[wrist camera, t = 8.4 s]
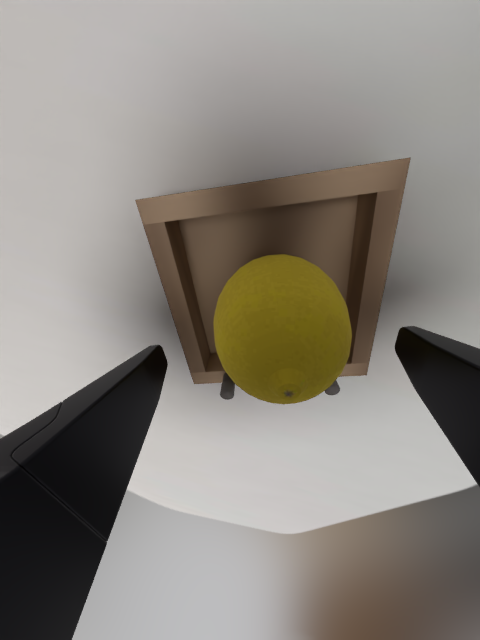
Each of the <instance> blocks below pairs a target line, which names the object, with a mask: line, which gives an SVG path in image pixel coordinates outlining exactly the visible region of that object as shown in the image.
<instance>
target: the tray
mask: <svg viewBox="0 0 480 640" xmlns="http://www.w3.org/2000/svg"><path fill="white" fill-rule="evenodd" d="M409 163H410V158H405V159H398V160H392V161H385V162H379V163H372V164H366V165H359V166H353V167H346V168H340V169H333V170H327V171H320V172H314V173H307V174H301V175H294V176H288V177H281V178H275V179H268V180H262V181H255V182H249V183H242V184H236V185H229V186H223V187H216V188H210V189H204V190H197V191H191V192H184V193H178V194H171V195H165V196H158V197H152V198H145V199H139V200H135V201H136V204H137V207H138V210H139V213H140V216H141V219H142V223H143V226H144V229H145V232H146V235H147V238H148V241H149V244H150V248H151V251H152V254H153V257H154V260H155V263H156V266H157V270H158V273H159V276H160V279H161V282H162V285H163V288H164V291H165V295H166V298H167V301H168V304H169V307H170V310H171V313H172V317H173V320H174V323H175V326H176V329H177V332H178V335H179V338H180V342H181V345H182V348H183V351H184V354H185V357H186V360H187V364H188V367H189V370H190V373H191V376H192V379H193V382H194V384H204V383H222V387H221V392H220V396H221V397H222V398H223V399H232V398H233V396H234V388H235V383H234V382H233V381H232V379H231V378H230V377H229V375H228V374H227V373H226V371H225V370H224V368H223V366H222V364H221V361H220V359H219V356H218V354H217V350H216V346H215V338H214V323H213V322H214V315H215V310H216V306H217V301H218V298H219V295H220V294H221V292H222V290H223V288H224V286H225V285H226V283H227V281H228V280H229V279H230V278H231V277H232V276H233V275H234V274H235V273H236V272H237V270H238V269H239V268H241V267H242V266H244V265H245V264H247V263H249V262H250V261H252V260H254V259H257V258H261V257H264V256H267V255H279V254H286V255H291V256H296V257H300V258H303V259H305V260H307V261H308V262H310V263H312V264H314V265H316V266H318V267H319V268H320V269H321V270H322V271H323V272H324V273H325V274H327V275H328V276H329V277H330V278H331V279H332V280H333V281H334V283H335V284H336V286H337V288H338V290H339V291H340V293H341V295H342V297H343V299H344V301H345V303H346V305H347V309H348V313H349V319H350V324H351V330H352V340H351V347H350V354H349V358H348V360H347V363H346V365H345V367H344V369H343V371H342V373H341V374H340V376H339V377H342V376H361V375H367V371H368V366H369V361H370V356H371V351H372V346H373V341H374V336H375V331H376V326H377V321H378V316H379V311H380V306H381V301H382V296H383V292H384V287H385V282H386V277H387V272H388V267H389V262H390V257H391V252H392V247H393V242H394V237H395V232H396V227H397V222H398V217H399V212H400V208H401V203H402V198H403V193H404V188H405V183H406V178H407V173H408V168H409ZM339 391H340V388H339V386H338V383H337V381H336V380H335V381H334V382H333V384H332V385H331V386H330V387H329V388H327V389H326V390H325V393H326V394H328V395H335V394H337V393H338V392H339Z"/></svg>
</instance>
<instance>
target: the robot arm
mask: <svg viewBox="0 0 480 640" xmlns="http://www.w3.org/2000/svg"><path fill="white" fill-rule="evenodd" d="M395 351H396V353H397V355H398V357H399V359H400V361H401V363H402V365H403V367H404V369H405V371H406V373H407V375H408V377H409V379H410V381H411V383H412V384H413V386H414V388H415V390H416V391H417V393H418V395H419V396H420V398H421V399H422V401H423V402H424V404H425V405H426V407H427V408H428V410H429V411H430V413H431V414H432V416H433V417H434V419H435V420H436V422H437V423H438V425H439V426H440V428H441V429H442V431H443V432H444V434H445V435H446V437H447V438H448V440H449V441H450V443H451V445H452V446H453V448H454V449H455V451H456V452H457V454H458V455H459V457H460V458H461V460H462V461H463V463H464V464H465V466H466V467H467V469H468V470H469V472H470V473H471V475H472V476H473V478H474V479H475V481H476V482H477V484H478V485H479V487H480V349H479V348H476V347H473V346H470V345H467V344H464V343H461V342H459V341H456V340H453V339H450V338H447V337H444V336H441V335H438V334H436V333H433V332H430V331H427V330H424V329H421V328H418V327H415V326H409V327H402V328H400V330H399V332H398V336H397V340H396V344H395ZM167 365H168V364H167V359H166V356H165V354H164V351H163V348H162V347H161V346H160V345H153V346H149V347H147V348H146V349H144V350H143V351H141V352H139V353H138V354H136V355H135V356H133V357H132V358H130V359H128V360H127V361H125V362H124V363H122V364H120V365H119V366H117V367H116V368H114V369H113V370H111V371H109V372H108V373H106V374H105V375H103V376H101V377H100V378H98V379H97V380H95V381H94V382H92V383H90V384H89V385H87V386H86V387H84V388H83V389H81V390H79V391H78V392H76V393H75V394H73V395H71V396H70V397H68V398H67V399H65V400H64V401H63V402H60V403H59V404H57V405H56V406H54V407H52V408H51V409H49V410H48V411H46V412H44V413H43V414H41V415H39V416H38V417H36V418H35V419H33V420H31V421H30V422H28V423H26V424H25V425H23V426H21V427H19V428H18V429H16V430H14V431H13V432H11V433H9V434H8V435H6V436H4V437H2V438H1V439H0V640H72V637H73V635H74V632H75V629H76V627H77V623H78V621H79V618H80V615H81V613H82V610H83V607H84V604H85V602H86V599H87V596H88V594H89V591H90V588H91V586H92V583H93V580H94V577H95V574H96V572H97V569H98V566H99V563H100V561H101V558H102V555H103V553H104V550H105V547H106V544H107V542H106V541H108V538H109V536H110V533H111V530H112V528H113V525H114V522H115V519H116V516H117V514H118V511H119V508H120V506H121V503H122V500H123V497H124V495H125V492H126V489H127V486H128V484H129V481H130V478H131V476H132V473H133V470H134V467H135V465H136V462H137V459H138V456H139V454H140V451H141V448H142V445H143V443H144V440H145V437H146V435H147V432H148V429H149V426H150V424H151V421H152V418H153V415H154V413H155V410H156V407H157V404H158V401H159V398H160V394H161V390H162V386H163V382H164V378H165V374H166V370H167Z"/></svg>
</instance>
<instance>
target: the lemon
mask: <svg viewBox="0 0 480 640" xmlns="http://www.w3.org/2000/svg"><path fill="white" fill-rule="evenodd" d="M213 323H214V338H215V346H216V350H217V354H218V356H219V359H220V361H221V364H222V366H223V368H224V370H225V371H226V373H227V374H228V375H229V377H230V378H231V379H232V381H233V382H234V383H235V384H236V385H237V386H239V387H240V388H241V389H242V390H244V391H245V392H246V393H248V394H249V395H252V396H254V397H256V398H258V399H260V400H263V401H267V402H271V403H277V404H292V403H298V402H302V401H306V400H309V399H311V398H313V397H315V396H317V395H319V394H320V393H322V392H323V391H325V390H326V389H327V388H329V387H330V386H331V385H332V384H333V382H334V381H335V380H336V379H337V378H338V377H339V376H340V374H341V373H342V371H343V369H344V367H345V365H346V363H347V360H348V358H349V354H350V347H351V340H352V330H351V324H350V319H349V313H348V309H347V305H346V303H345V301H344V299H343V297H342V295H341V293H340V291H339V290H338V288H337V286H336V284H335V283H334V281H333V280H332V279H331V278H330V277H329V276H328V275H327V274H325V273H324V272H323V271H322V270H321V269H320V268H319V267H318V266H316V265H314V264H312V263H310V262H308V261H307V260H305V259H303V258H300V257H296V256H291V255H286V254H279V255H267V256H264V257H261V258H257V259H254V260H252V261H250V262H249V263H247V264H245V265H244V266H242V267H241V268H239V269H238V270H237V272H236V273H235V274H234V275H233V276H232V277H231V278H230V279H229V280H228V281H227V283H226V285H225V286H224V288H223V290H222V292H221V294H220V295H219V298H218V301H217V306H216V310H215V315H214V322H213Z"/></svg>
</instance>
